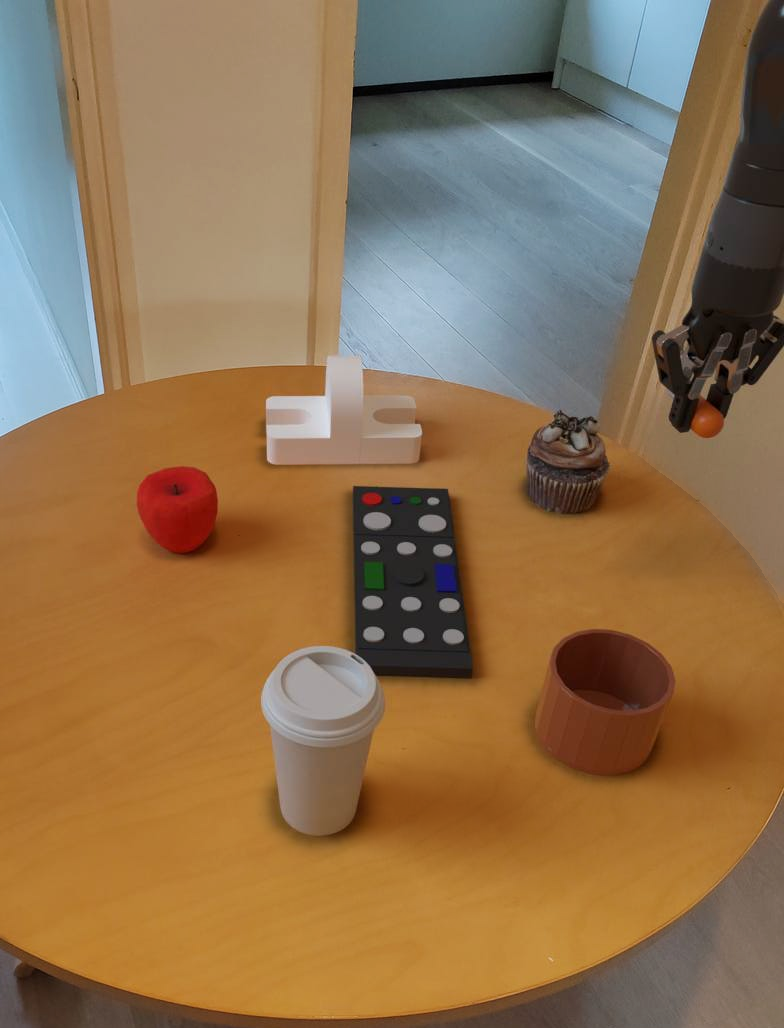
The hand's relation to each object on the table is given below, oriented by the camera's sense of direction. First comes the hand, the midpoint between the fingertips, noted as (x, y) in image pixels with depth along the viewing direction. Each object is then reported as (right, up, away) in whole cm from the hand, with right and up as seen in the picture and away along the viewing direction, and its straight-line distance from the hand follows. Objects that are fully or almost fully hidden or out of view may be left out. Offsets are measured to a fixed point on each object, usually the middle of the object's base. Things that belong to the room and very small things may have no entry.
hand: (694, 425), depth 98 cm
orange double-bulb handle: (-1, +1, 0) cm, 1 cm away
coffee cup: (-36, -35, -11) cm, 51 cm away
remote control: (-27, -14, +12) cm, 32 cm away
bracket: (-33, +4, +32) cm, 46 cm away
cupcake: (-7, -3, +24) cm, 25 cm away
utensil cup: (-11, -29, -4) cm, 31 cm away
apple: (-51, -10, +16) cm, 55 cm away
